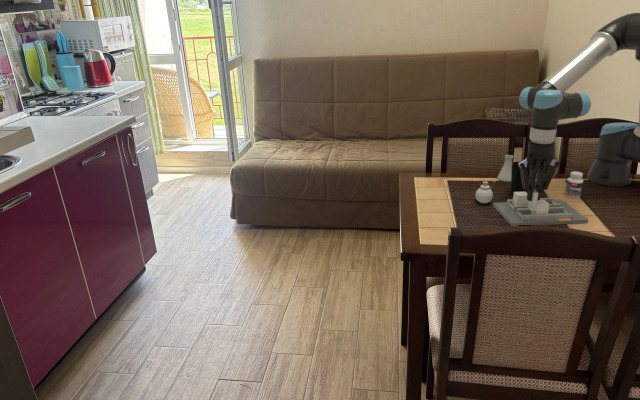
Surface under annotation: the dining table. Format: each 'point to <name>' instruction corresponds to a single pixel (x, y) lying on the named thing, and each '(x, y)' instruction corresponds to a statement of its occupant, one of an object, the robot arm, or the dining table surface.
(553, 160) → the robot arm
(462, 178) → the dining table surface
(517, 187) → the cup
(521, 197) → the tab
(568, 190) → the pill bottle
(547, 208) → the tab
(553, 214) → the switch board
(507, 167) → the flask
